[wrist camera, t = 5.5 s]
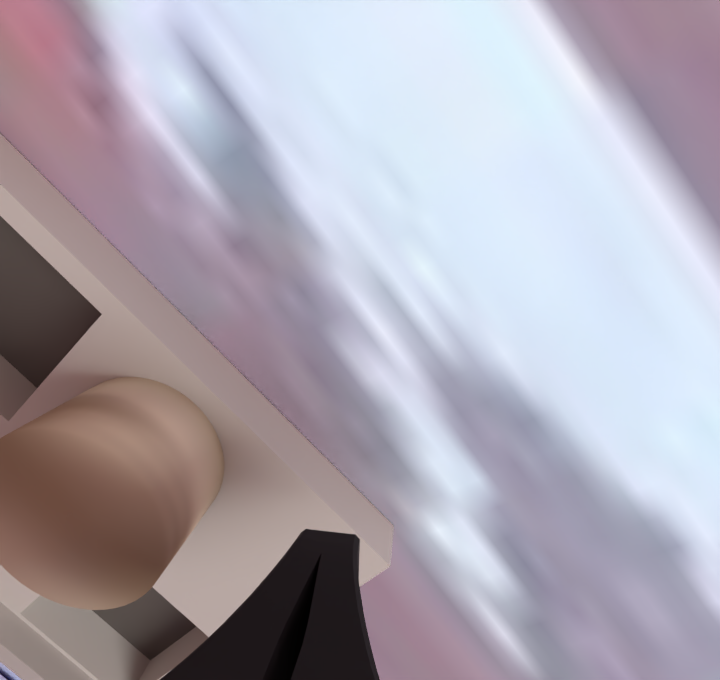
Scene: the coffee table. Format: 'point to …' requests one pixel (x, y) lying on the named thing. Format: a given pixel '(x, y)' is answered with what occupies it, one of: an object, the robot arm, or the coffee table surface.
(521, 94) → the coffee table surface
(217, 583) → the trap board
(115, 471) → the beige rounded knob
